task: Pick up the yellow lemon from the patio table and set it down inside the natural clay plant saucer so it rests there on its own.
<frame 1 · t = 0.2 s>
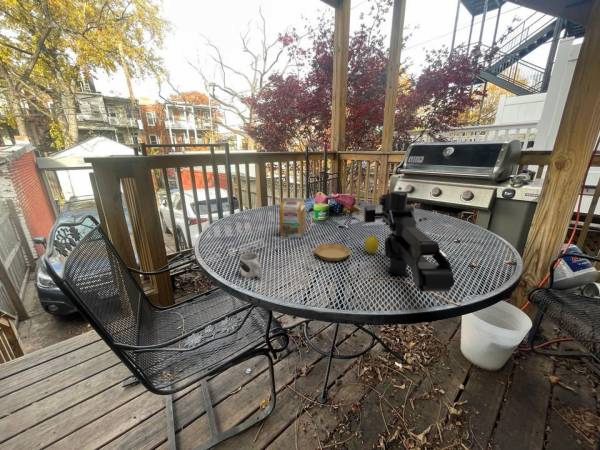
hand: (382, 209, 108), 16 cm above the table, tool horizontal, fingers open, 9 cm apart
mug: (253, 275, 90), on the table
placemat: (426, 249, 107), on the table
lemon: (370, 253, 105), on the table
plastic snack jar: (293, 235, 128), on the table
plant saucer: (332, 256, 104), on the table
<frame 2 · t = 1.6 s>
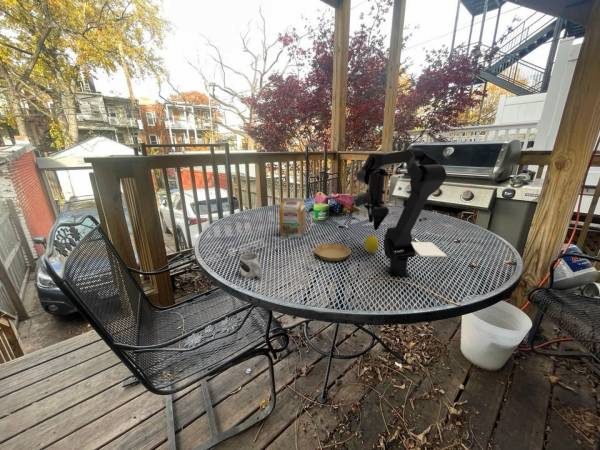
hand: (373, 225, 101), 12 cm above the table, tool pointing down, fingers open, 9 cm apart
nothing on the table moved.
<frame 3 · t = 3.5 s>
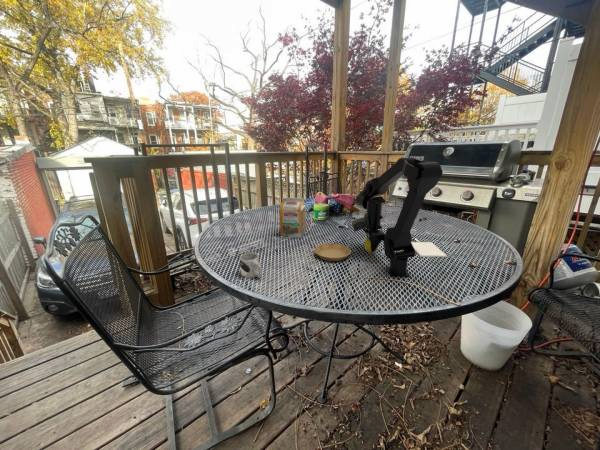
hand: (371, 248, 104), 2 cm above the table, tool pointing down, fingers closed on lemon, 5 cm apart
lemon: (370, 253, 105), on the table, touching gripper
everything else where it was.
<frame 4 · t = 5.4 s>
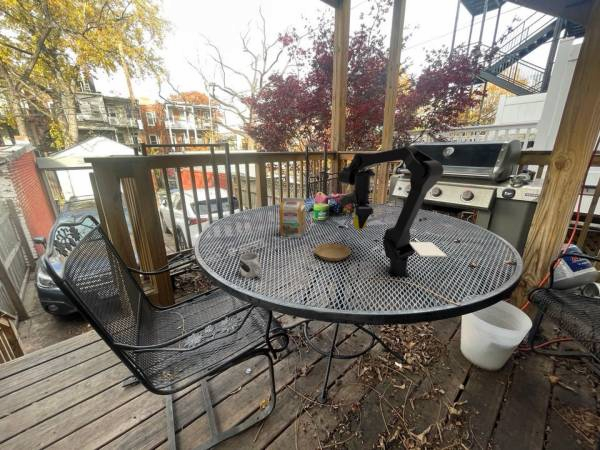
hand: (359, 225, 101), 12 cm above the table, tool pointing down, fingers closed on lemon, 5 cm apart
lemon: (359, 231, 102), point 10 cm above the table, touching gripper
everything else where it was.
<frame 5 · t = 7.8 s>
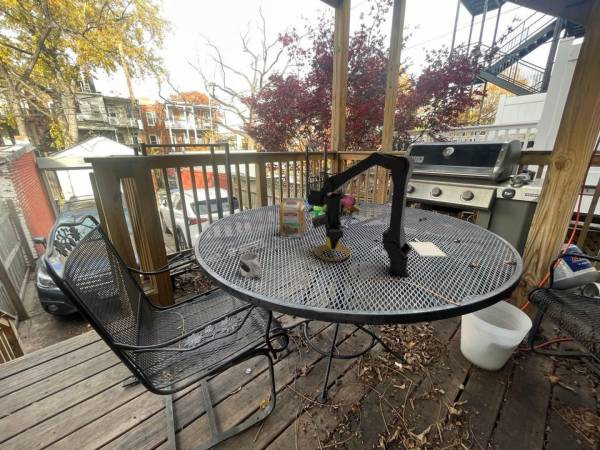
hand: (332, 246, 103), 4 cm above the table, tool pointing down, fingers closed on lemon, 5 cm apart
lemon: (332, 251, 103), point 2 cm above the table, touching gripper, plant saucer
plant saucer: (332, 256, 104), on the table, touching lemon
everything else where it was.
when the fingers open (4 cm above the table, at t = 8.4 s): lemon stays where it is, resting on plant saucer.
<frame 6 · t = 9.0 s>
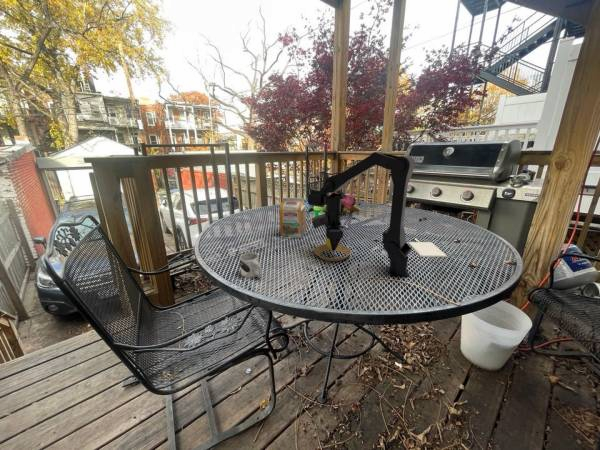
hand: (332, 246, 103), 4 cm above the table, tool pointing down, fingers open, 9 cm apart
lemon: (332, 251, 103), point 2 cm above the table, touching plant saucer
everything else where it was.
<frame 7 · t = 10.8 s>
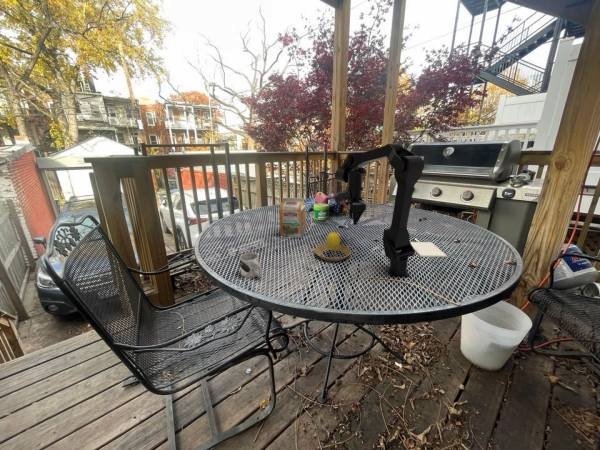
hand: (352, 221, 107), 12 cm above the table, tool pointing down, fingers open, 9 cm apart
nothing on the table moved.
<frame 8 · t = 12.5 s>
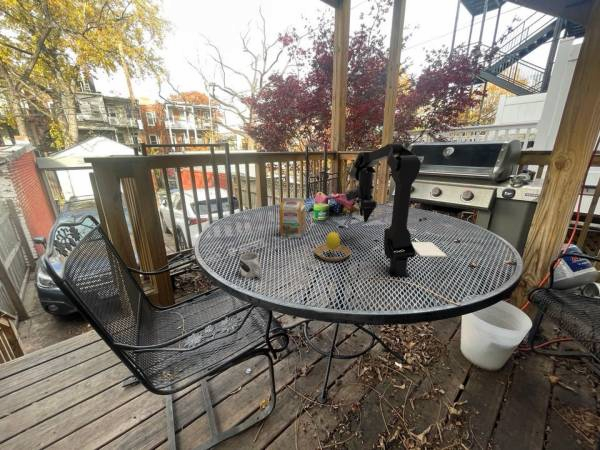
hand: (363, 218, 111), 12 cm above the table, tool pointing down, fingers open, 9 cm apart
nothing on the table moved.
at the end: lemon inside the target area on the plant saucer (0.1 cm from its centre), point 2.7 cm above the plant saucer's base; lemon touching plant saucer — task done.
